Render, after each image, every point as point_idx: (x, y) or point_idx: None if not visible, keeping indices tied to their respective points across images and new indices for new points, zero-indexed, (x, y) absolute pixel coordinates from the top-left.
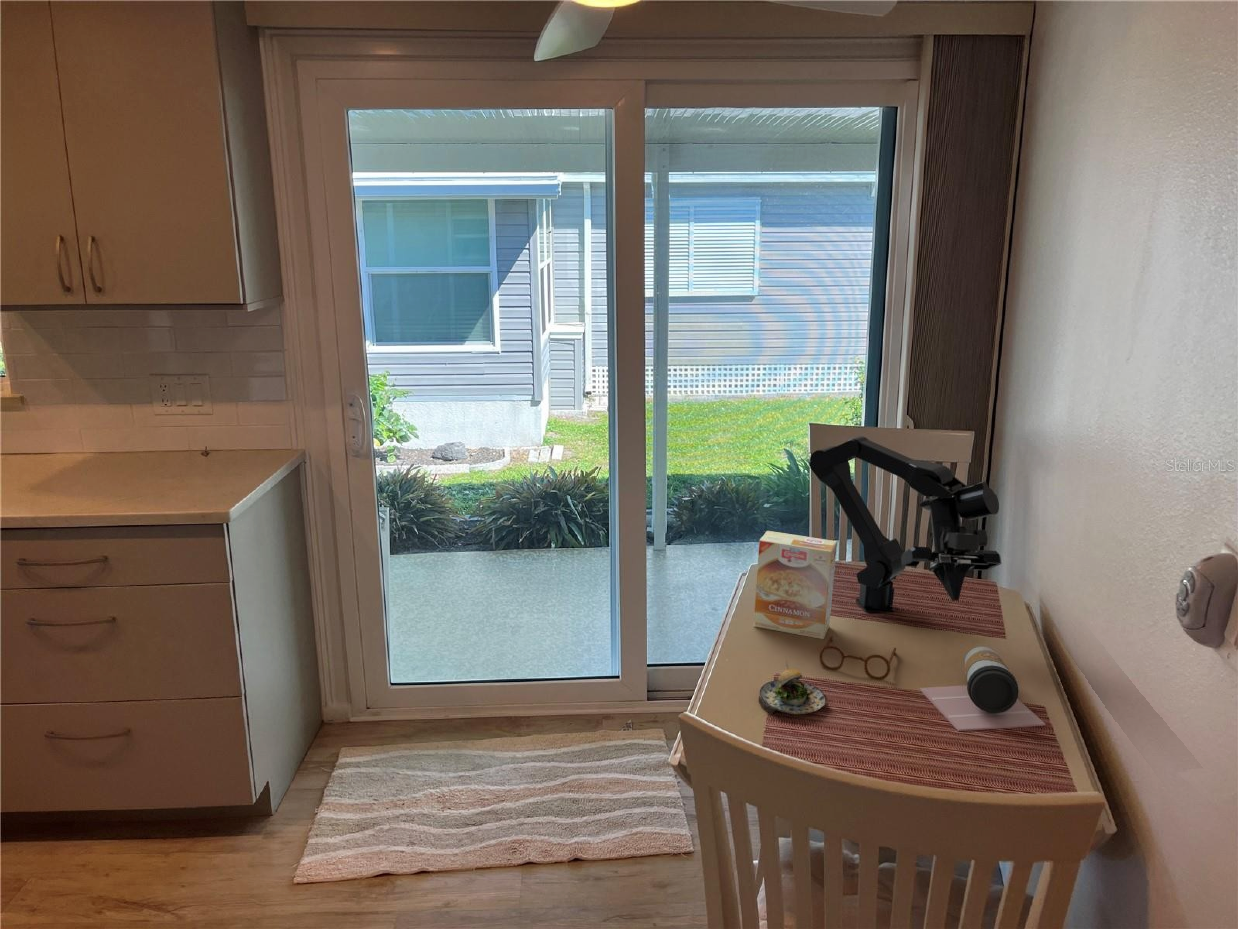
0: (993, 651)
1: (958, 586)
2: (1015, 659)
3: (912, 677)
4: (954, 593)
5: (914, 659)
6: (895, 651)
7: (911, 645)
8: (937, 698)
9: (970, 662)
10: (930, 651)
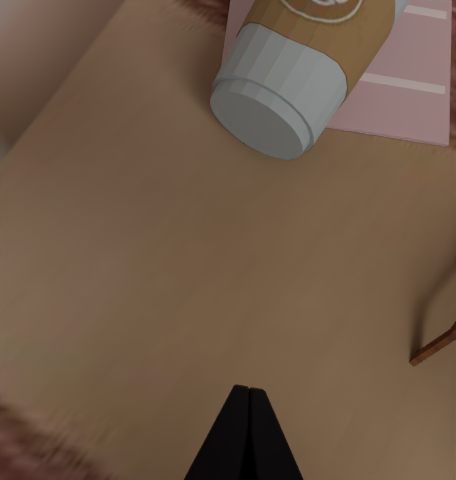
0: (257, 53)
1: (226, 477)
2: (49, 228)
3: (432, 208)
4: (269, 424)
5: (372, 305)
6: (429, 346)
7: (331, 400)
8: (431, 87)
9: (377, 35)
10: (291, 344)
